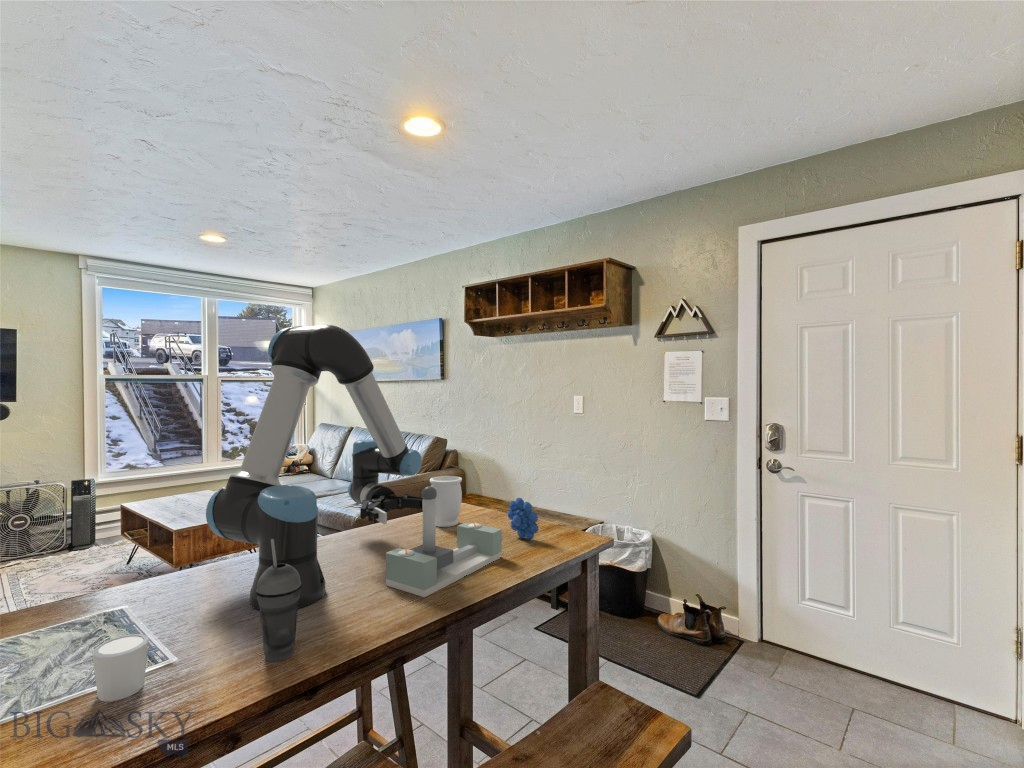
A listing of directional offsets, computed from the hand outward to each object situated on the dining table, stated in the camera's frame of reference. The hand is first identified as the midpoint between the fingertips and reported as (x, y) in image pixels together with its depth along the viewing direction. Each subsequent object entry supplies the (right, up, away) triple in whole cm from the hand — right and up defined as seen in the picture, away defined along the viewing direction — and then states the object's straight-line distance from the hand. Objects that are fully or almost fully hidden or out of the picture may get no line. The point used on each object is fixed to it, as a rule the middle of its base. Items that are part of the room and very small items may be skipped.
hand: (411, 514), depth 129 cm
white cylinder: (-34, -14, -51) cm, 63 cm away
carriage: (+6, -10, -7) cm, 13 cm away
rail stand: (+9, -14, -1) cm, 17 cm away
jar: (+4, -13, +39) cm, 42 cm away
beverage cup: (-15, -14, -41) cm, 45 cm away
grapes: (+28, -14, +24) cm, 39 cm away
